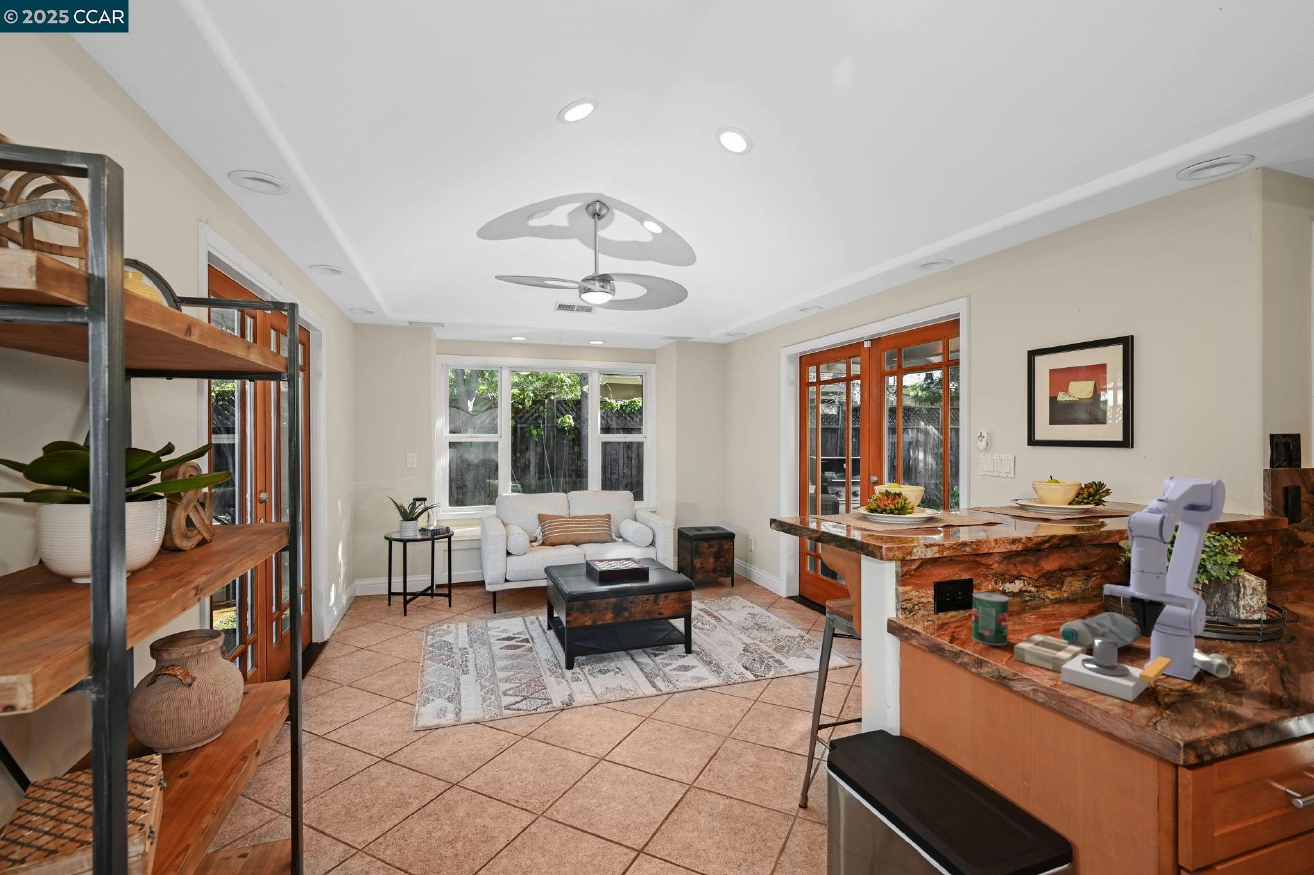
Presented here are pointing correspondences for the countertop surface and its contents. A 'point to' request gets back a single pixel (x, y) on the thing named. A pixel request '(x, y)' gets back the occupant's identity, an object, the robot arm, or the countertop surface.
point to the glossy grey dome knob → (1105, 658)
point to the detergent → (1101, 630)
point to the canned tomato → (990, 618)
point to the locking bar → (1155, 669)
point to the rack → (1047, 651)
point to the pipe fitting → (1212, 664)
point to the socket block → (1103, 679)
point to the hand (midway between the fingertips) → (1146, 636)
